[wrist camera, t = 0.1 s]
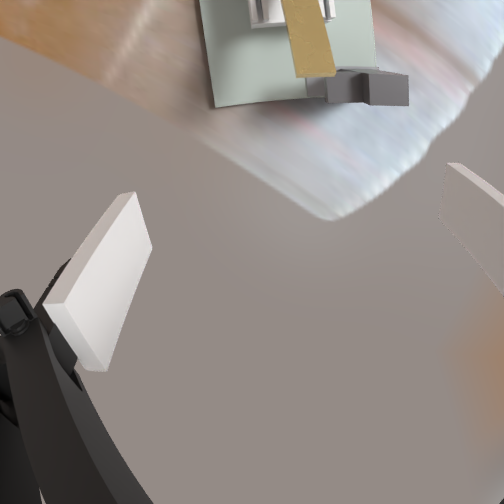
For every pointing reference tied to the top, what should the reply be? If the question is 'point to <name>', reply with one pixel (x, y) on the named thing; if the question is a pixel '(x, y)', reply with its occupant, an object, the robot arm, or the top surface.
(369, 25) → the board
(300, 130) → the top surface
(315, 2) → the strap
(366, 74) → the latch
